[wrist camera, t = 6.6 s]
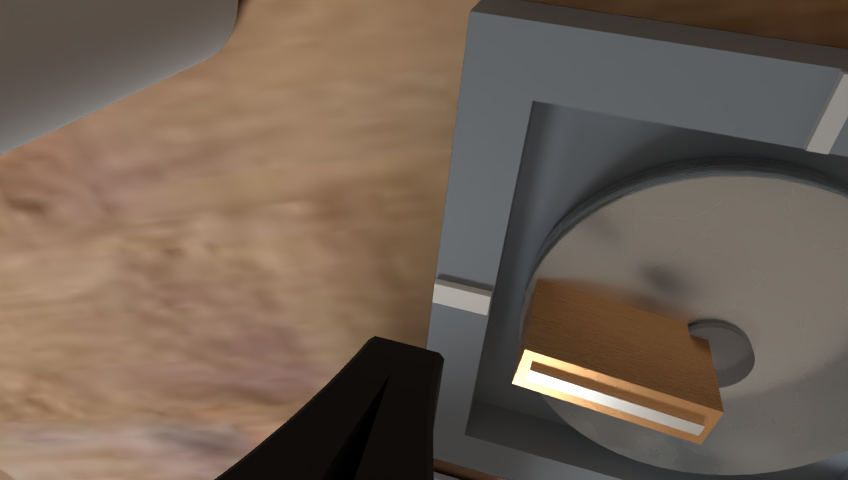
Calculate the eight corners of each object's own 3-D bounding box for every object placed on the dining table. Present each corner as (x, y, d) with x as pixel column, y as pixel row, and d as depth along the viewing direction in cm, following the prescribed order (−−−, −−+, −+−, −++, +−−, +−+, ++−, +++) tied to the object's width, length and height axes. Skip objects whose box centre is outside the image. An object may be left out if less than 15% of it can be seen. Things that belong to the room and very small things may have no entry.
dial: (1029, 226, 15) (1182, 353, 11) (791, 482, 22) (832, 619, 18) (587, 109, 17) (580, 184, 13) (489, 383, 24) (465, 490, 20)
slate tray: (850, 527, 24) (875, 594, 21) (427, 409, 27) (410, 457, 24) (1230, 106, 14) (1349, 151, 11) (485, -5, 17) (467, 13, 14)
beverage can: (223, -114, 17) (-297, -99, 7) (266, 52, 19) (-81, 234, 10) (93, -92, 18) (-493, -54, 9) (148, 61, 21) (-260, 227, 11)
